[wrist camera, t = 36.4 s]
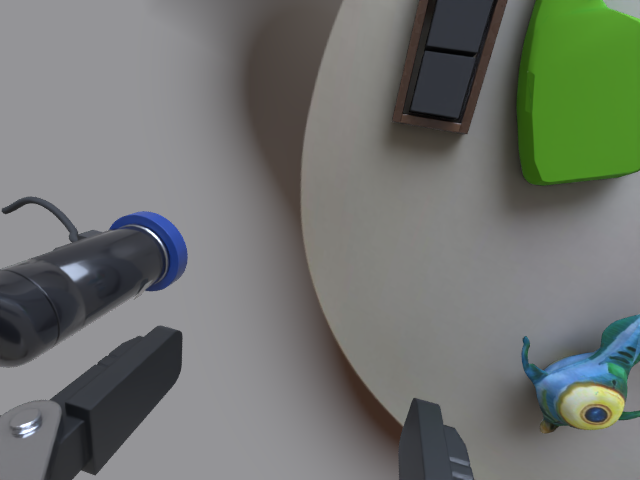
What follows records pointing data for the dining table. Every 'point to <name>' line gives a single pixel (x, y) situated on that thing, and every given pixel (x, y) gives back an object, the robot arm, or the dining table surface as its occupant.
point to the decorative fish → (588, 381)
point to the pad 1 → (458, 26)
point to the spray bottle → (579, 93)
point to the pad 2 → (441, 84)
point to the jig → (476, 78)
